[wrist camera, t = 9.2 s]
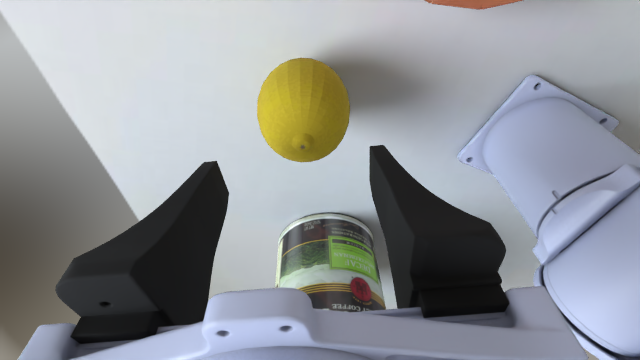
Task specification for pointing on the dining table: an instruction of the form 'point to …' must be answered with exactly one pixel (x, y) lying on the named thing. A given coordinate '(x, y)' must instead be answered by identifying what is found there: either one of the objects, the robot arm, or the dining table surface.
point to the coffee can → (331, 263)
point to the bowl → (472, 3)
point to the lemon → (303, 110)
